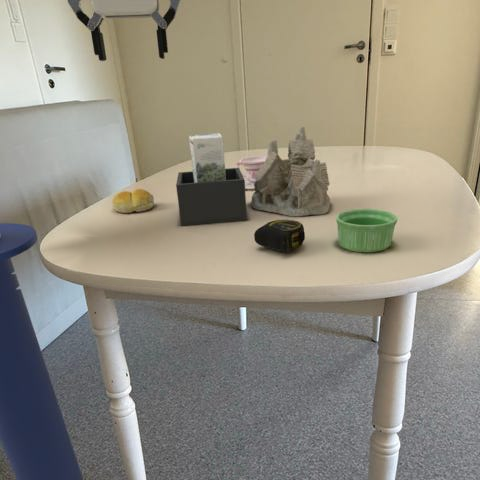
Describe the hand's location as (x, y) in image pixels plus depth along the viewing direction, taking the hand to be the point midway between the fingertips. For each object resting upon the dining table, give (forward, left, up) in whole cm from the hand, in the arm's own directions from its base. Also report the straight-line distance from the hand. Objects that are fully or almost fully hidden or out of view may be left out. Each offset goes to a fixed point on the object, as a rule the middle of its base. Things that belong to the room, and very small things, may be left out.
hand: (132, 59), depth 73 cm
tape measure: (+21, -20, -28) cm, 40 cm away
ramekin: (+34, -21, -28) cm, 49 cm away
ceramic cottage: (+27, +5, -28) cm, 39 cm away
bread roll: (-6, +14, -28) cm, 32 cm away
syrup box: (+11, +4, -27) cm, 30 cm away
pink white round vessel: (+23, +28, -28) cm, 46 cm away
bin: (+11, +4, -28) cm, 30 cm away
